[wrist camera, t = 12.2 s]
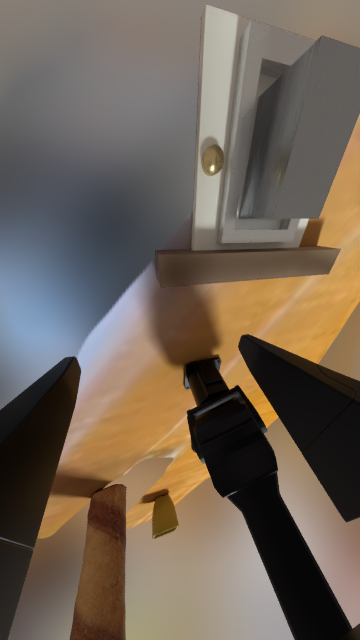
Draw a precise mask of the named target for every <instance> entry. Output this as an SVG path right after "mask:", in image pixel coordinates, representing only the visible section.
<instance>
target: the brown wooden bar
mask: <svg viewBox="0 0 360 640" xmlns="http://www.w3.org/2000/svg"><path fill="white" fill-rule="evenodd" d="M340 250H341V249H336V248H329V247H321V246H299V247H297V248H264V249H230V250H197V251H193V250H158V251H155V254H156V269H157V279H158V282H159V284H160V286H161V287H172V286H185V285H197V284H210V283H222V282H235V281H247V280H260V279H273V278H285V277H298V276H310V275H323V274H329V272H330V270H331V268H332V266H333V264H334V262H335V260H336V258H337V256H338V254H339V252H340Z"/></svg>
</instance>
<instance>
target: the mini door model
mask: <svg viewBox="0 0 360 640" xmlns="http://www.w3.org/2000/svg"><path fill="white" fill-rule="evenodd" d="M315 42H316V41H315V40H312V39H309V38H306V37H303V36H300V35H297V34H294V33H291V32H288V31H285V30H282V29H279V28H276V27H273V26H270V25H267V24H264V23H261V22H258V21H255V20H252V19H249V18H246V17H243V16H240V15H237V14H234V13H231V12H228V11H225V10H222V9H218V8H216V7H213V6H210V5H207V4H206V6H205V8H204V11H203V14H202V17H201V37H200V59H199V82H198V105H197V130H196V153H195V175H194V198H193V221H192V244H191V250H193V251H197V250H230V249H264V248H297V247H299V245H300V242H301V240H302V237H303V234H304V231H305V229H306V226H307V223H308V220H309V219H239V213H240V207H241V201H242V195H243V189H244V183H245V177H246V171H247V165H248V159H249V153H250V147H251V141H252V135H253V129H254V123H255V117H256V111H257V106H258V100H259V96H260V95H261V94H263V93H264V92H265V91H266V90H267V89H268V88H269V87H270V86H271V85H272V84H273V83H274V82H275V81H276V80H277V79H278V78H279V77H280V76H281V75H282V74H283V73H284V72H285V71H286V70H287V69H288V68H289V67H290V66H291V65H292V64H293V63H294V62H295V61H296V60H297V59H299V58H300V57H301V56H302V55H303V54H304V53H305V52H306V51H307V50H308V49H309V48H310V47H311V46H312V45H313V44H314V43H315Z"/></svg>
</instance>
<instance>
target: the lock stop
mask: <svg viewBox="0 0 360 640" xmlns="http://www.w3.org/2000/svg"><path fill="white" fill-rule="evenodd" d="M359 114H360V48H358V47H355V46H352V45H349V44H346V43H343V42H340V41H337V40H334V39H331V38H328V37H325V36H321V37H320V38H319V39H318V40H317V41H316V42H315V43H314V44H313V45H312V46H311V47H310V48H309V49H308V50H307V51H306V52H305V53H304V54H303V55H302V56H301V57H300V58H299V59H297V60H296V61H295V62H294V63H293V64H292V65H291V66H290V67H289V68H288V69H287V70H286V71H285V72H284V73H283V74H282V75H281V76H280V77H279V78H278V79H277V80H276V81H275V82H274V83H273V84H272V85H271V86H270V87H269V88H268V89H267V90H266V91H265V92H264V93H263V94H261V95H260V96H259V100H258V106H257V111H256V117H255V123H254V129H253V135H252V141H251V147H250V153H249V159H248V165H247V171H246V177H245V183H244V189H243V195H242V201H241V207H240V213H239V219H319V216H320V214H321V211H322V208H323V206H324V203H325V201H326V198H327V196H328V193H329V190H330V188H331V185H332V183H333V180H334V178H335V175H336V173H337V170H338V167H339V165H340V162H341V160H342V157H343V155H344V152H345V149H346V147H347V144H348V142H349V139H350V137H351V134H352V131H353V129H354V126H355V124H356V121H357V119H358V116H359Z"/></svg>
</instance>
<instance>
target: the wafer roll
mask: <svg viewBox="0 0 360 640" xmlns="http://www.w3.org/2000/svg"><path fill="white" fill-rule="evenodd" d="M125 548H126V487H125V486H124V485H122V484H115V485H112V486H109V487H107V488H105V489H103V490H99V491H97V492H96V493H95V494H94V495H93V496H92V498H91V503H90V508H89V512H88V524H87V533H86V542H85V548H84V554H83V565H82V570H81V575H80V580H79V586H78V592H77V597H76V602H75V607H74V617H73V625H72V630H71V635H70V640H126V639H125Z"/></svg>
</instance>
